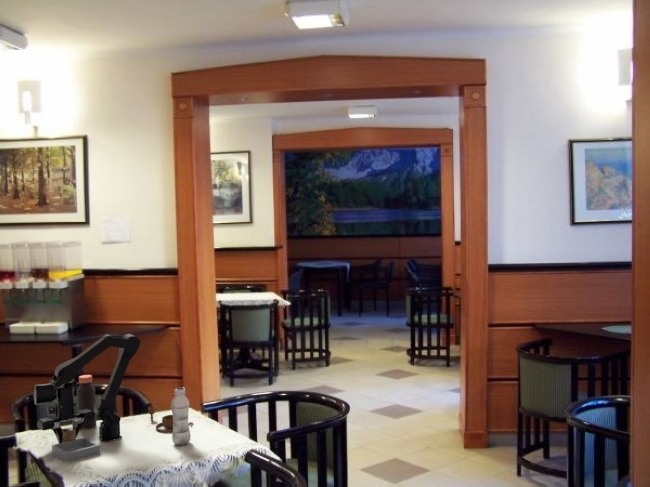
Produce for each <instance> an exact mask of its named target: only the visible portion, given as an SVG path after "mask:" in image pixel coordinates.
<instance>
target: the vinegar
mask: <svg viewBox="0 0 650 487" xmlns="http://www.w3.org/2000/svg"><path fill="white" fill-rule="evenodd" d="M92 383H93V375H92V374H83V375H80V376H78V384H79V385H80V386H78V388H77V389H76V404H77V405H76V406H77V410H76V411H77V412H78V411H80V410H85V409H88V410H91V411H93V412H94V406H93V405H94V404H95V402H96V387H95V386H93V384H92ZM94 418H95V419H92V420H88V421H86V420H85V419H84V421H85V424H83V425H82V427H81V429H80V430H88V429H89V430H90V429H93V428H95V427H96V426H97V415H96V414H95V412H94Z"/></svg>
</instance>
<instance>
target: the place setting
mask: <svg viewBox="0 0 650 487" xmlns="http://www.w3.org/2000/svg"><path fill="white" fill-rule="evenodd" d="M155 410H156V407H155V406H149V407H148V414H149V415H150V422H153V421H154V414H155V412H156V411H155ZM188 424H189V427H191V428H193V425H194V423H193V421H191V422H188ZM151 426H152V425H147V426H146V427H151ZM160 427H164V428H165V429H161V428H160ZM155 430H156V431H157V432H159V433H164V434H165V433H167V434H168V433H169V434H171V433H173V414H169V415H164V416H162V417H161V422H159V423H157V424H156V425H155Z"/></svg>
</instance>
